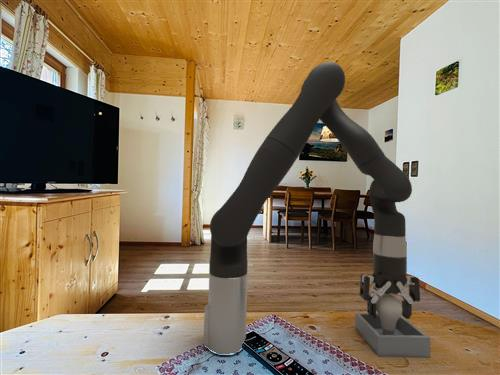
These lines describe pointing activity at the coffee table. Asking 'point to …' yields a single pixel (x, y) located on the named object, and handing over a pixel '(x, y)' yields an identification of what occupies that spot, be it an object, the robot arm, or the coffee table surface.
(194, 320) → the coffee table surface
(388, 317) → the lightbulb
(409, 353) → the tray
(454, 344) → the coffee table surface
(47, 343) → the coffee table surface
